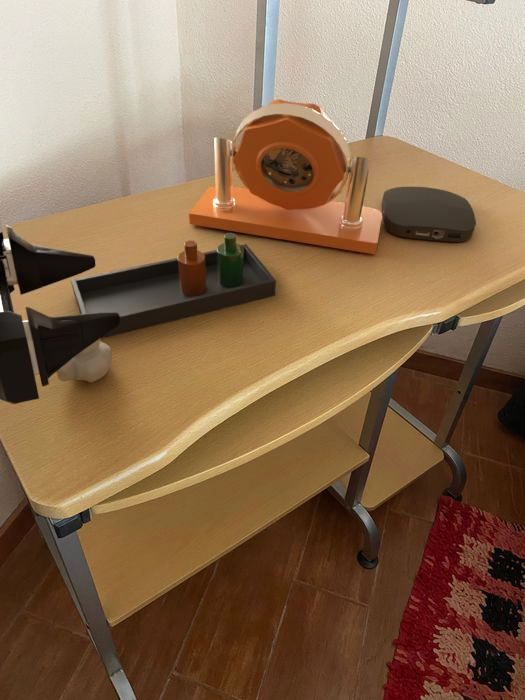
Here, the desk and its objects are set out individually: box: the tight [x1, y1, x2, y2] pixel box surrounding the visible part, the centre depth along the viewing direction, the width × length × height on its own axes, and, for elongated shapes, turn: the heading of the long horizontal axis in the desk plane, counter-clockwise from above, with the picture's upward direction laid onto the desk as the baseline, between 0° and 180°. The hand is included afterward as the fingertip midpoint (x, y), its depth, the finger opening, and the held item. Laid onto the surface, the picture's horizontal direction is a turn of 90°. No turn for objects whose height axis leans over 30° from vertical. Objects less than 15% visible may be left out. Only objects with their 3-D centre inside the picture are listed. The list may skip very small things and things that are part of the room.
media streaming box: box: [381, 186, 477, 243], centre depth 89 cm, size 15×15×3 cm
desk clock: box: [188, 98, 383, 255], centre depth 80 cm, size 12×30×20 cm, turn 76°
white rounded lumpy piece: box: [56, 338, 113, 384], centre depth 57 cm, size 5×7×8 cm
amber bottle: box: [177, 240, 206, 296], centre depth 70 cm, size 4×4×7 cm
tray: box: [70, 243, 277, 339], centre depth 71 cm, size 25×10×2 cm, turn 115°
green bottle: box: [216, 232, 244, 287], centre depth 72 cm, size 4×4×7 cm
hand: (106, 288), depth 47 cm, fingers open, 9 cm apart
